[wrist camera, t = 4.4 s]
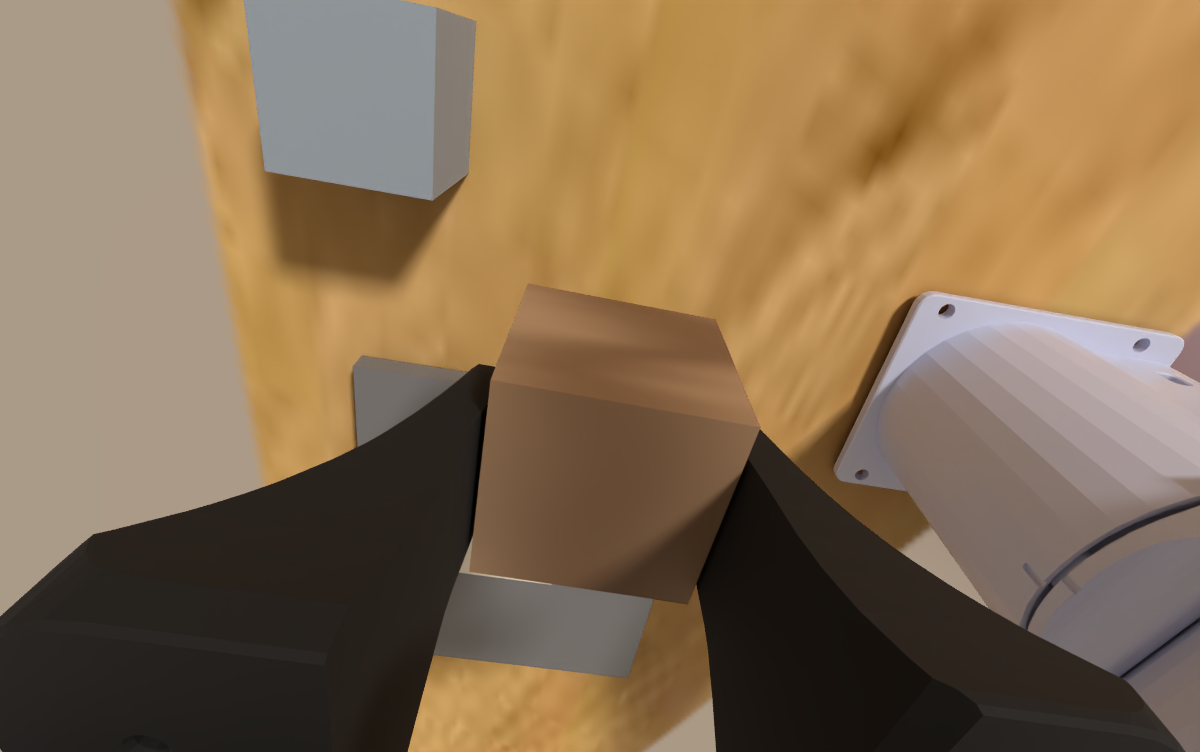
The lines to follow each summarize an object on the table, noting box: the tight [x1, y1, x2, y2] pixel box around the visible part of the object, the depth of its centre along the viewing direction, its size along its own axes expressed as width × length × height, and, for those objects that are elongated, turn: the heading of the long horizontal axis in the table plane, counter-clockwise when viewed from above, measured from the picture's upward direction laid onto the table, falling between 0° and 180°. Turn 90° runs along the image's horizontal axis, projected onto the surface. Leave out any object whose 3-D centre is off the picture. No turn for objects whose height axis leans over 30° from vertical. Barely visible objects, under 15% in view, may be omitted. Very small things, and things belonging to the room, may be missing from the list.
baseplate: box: [353, 356, 654, 678], centre depth 24 cm, size 13×16×1 cm
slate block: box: [244, 0, 476, 201], centre depth 14 cm, size 4×4×4 cm
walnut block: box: [469, 284, 760, 604], centre depth 11 cm, size 4×4×4 cm
